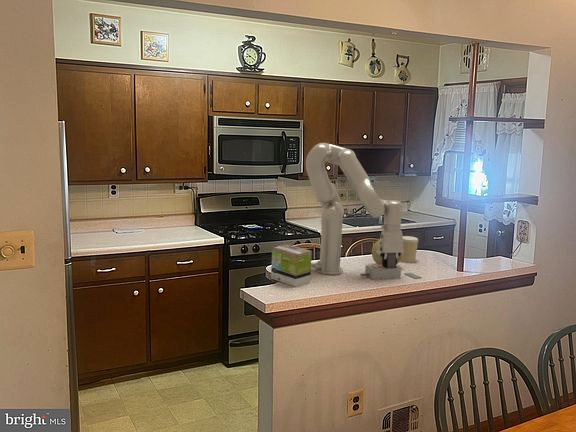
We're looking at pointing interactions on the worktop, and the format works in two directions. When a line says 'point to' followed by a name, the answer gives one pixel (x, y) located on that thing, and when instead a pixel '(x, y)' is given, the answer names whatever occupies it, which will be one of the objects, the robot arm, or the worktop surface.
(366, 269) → the machine vise
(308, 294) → the worktop surface
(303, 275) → the tea box
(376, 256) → the cantaloupe
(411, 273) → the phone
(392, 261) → the charger
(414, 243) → the coffee cup
